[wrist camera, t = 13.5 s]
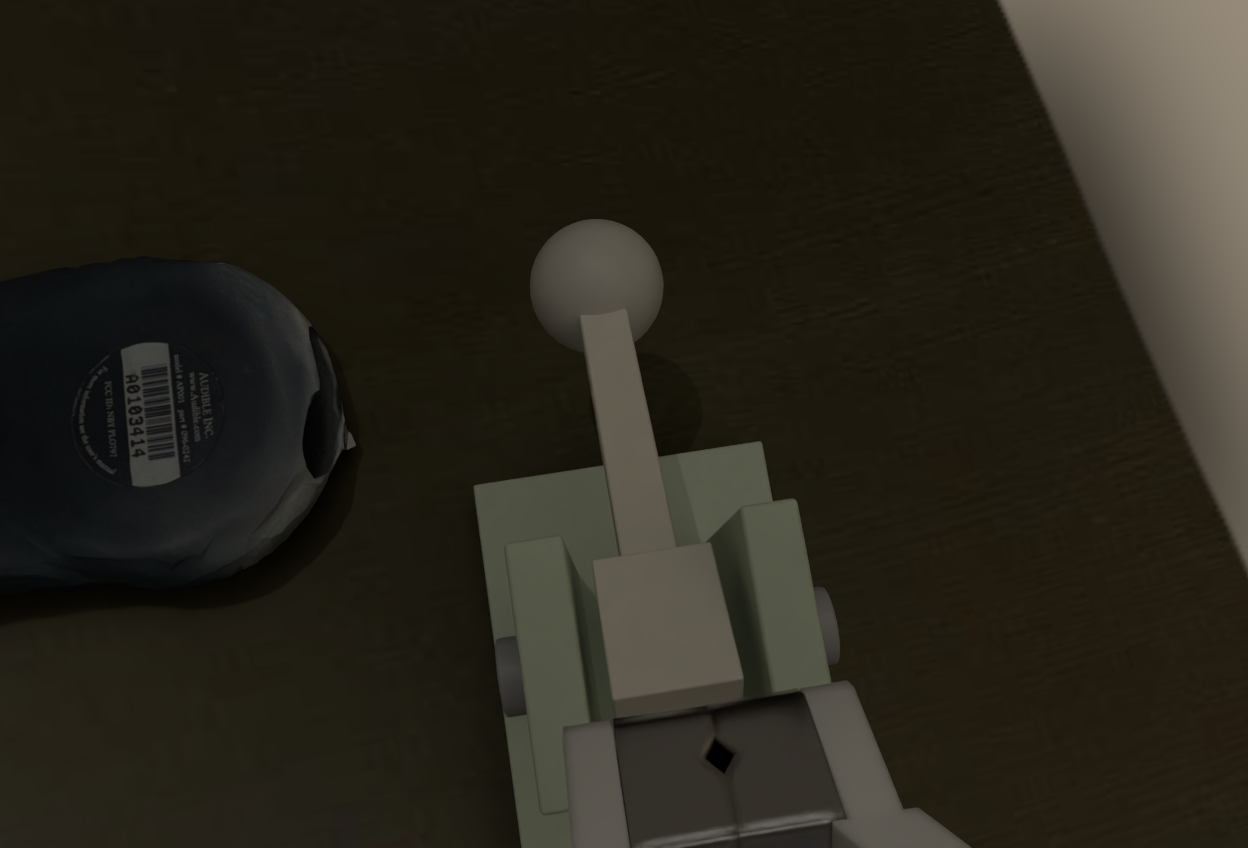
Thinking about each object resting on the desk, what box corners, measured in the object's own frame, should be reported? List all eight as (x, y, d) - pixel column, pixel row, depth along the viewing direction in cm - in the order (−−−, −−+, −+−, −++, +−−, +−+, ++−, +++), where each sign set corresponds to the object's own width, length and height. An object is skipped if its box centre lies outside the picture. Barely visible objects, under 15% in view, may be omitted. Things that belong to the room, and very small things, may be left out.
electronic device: (-129, 666, 31) (369, 562, 30) (-314, 647, 26) (280, 520, 25) (-117, 368, 34) (338, 261, 33) (-280, 297, 29) (252, 167, 28)
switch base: (479, 492, 31) (393, 394, 19) (754, 449, 32) (852, 325, 19) (528, 858, 29) (469, 1022, 17) (820, 808, 30) (976, 932, 17)
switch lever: (533, 302, 29) (516, 202, 26) (655, 283, 29) (648, 182, 26) (596, 776, 20) (578, 692, 18) (768, 748, 20) (775, 661, 18)
